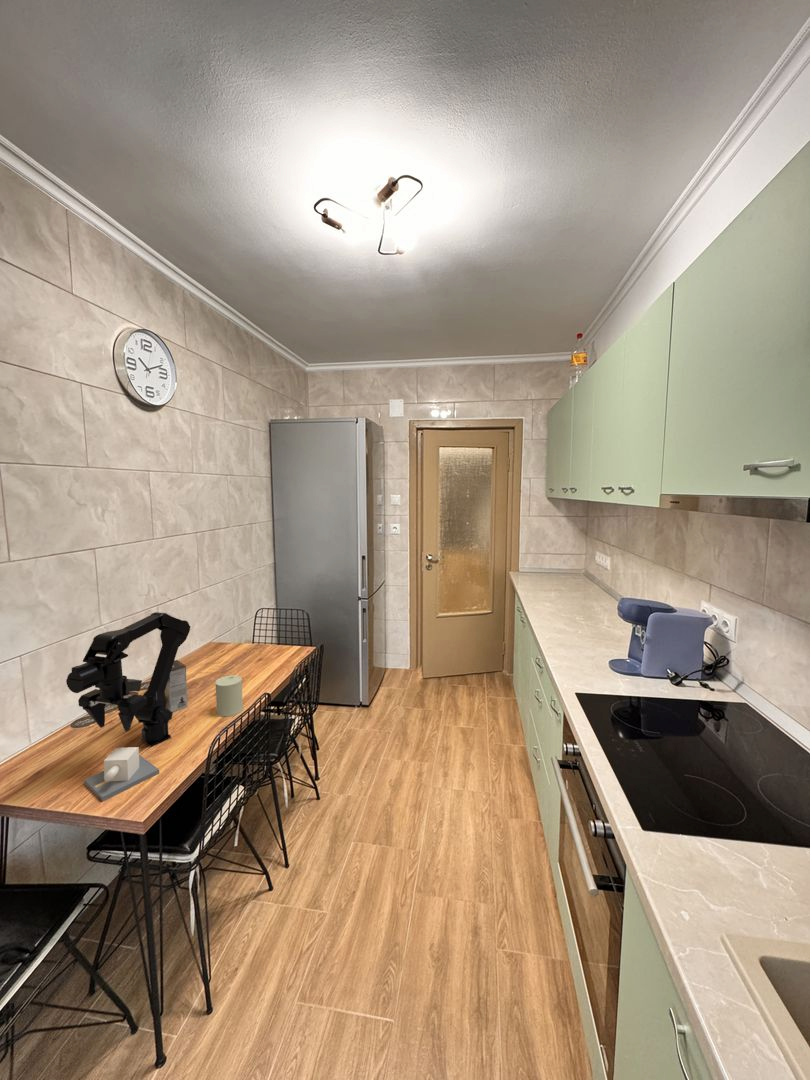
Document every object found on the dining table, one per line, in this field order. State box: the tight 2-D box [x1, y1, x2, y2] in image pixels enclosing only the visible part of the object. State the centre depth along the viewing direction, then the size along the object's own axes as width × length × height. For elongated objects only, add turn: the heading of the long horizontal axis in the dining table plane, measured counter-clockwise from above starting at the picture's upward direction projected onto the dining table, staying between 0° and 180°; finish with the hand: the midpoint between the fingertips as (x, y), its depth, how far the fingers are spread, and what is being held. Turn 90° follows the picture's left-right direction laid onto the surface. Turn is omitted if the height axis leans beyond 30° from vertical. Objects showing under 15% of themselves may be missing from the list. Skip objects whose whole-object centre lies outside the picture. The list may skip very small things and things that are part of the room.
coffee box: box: [165, 659, 188, 712], centre depth 161 cm, size 9×6×16 cm
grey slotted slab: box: [83, 754, 160, 802], centre depth 120 cm, size 14×12×5 cm
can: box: [214, 674, 244, 717], centre depth 158 cm, size 9×9×12 cm
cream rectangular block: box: [103, 746, 140, 782], centre depth 118 cm, size 6×10×6 cm, turn 6°
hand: (114, 728), depth 125 cm, fingers open, 9 cm apart
